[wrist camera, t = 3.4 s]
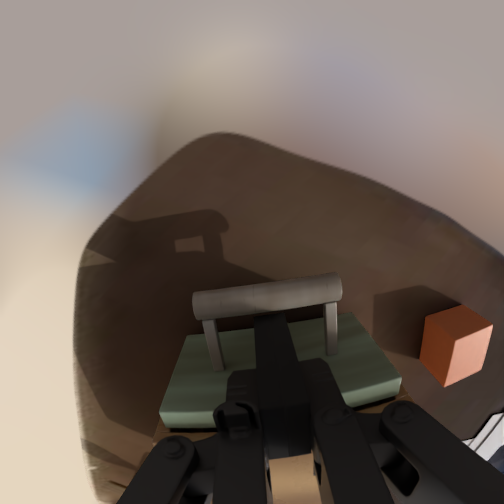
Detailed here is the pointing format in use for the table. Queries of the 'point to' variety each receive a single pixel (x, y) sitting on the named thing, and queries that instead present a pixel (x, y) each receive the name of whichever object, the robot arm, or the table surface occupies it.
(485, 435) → the paper stack
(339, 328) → the drawer
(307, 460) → the cabinet
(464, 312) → the block
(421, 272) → the table surface
